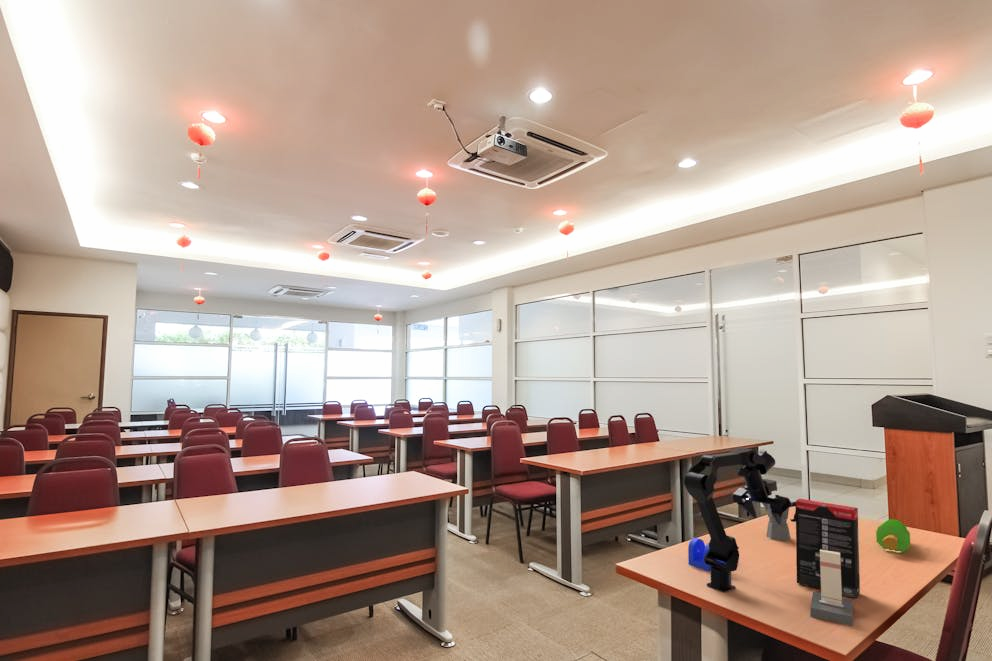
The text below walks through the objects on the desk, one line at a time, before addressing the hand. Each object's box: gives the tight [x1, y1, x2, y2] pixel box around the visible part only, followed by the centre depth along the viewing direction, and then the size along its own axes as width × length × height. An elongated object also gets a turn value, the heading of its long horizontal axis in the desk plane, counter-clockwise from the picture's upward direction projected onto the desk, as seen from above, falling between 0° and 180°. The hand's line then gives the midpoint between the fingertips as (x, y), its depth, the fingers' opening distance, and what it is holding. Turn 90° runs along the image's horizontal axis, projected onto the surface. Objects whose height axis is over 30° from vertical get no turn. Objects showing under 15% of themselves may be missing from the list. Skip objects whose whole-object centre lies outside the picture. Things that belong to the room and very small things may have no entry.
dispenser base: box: [809, 590, 854, 627], centre depth 154 cm, size 10×14×3 cm
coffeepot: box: [761, 494, 796, 542], centre depth 226 cm, size 15×9×18 cm, turn 70°
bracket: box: [687, 537, 726, 572], centre depth 193 cm, size 18×8×9 cm, turn 124°
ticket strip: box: [820, 549, 843, 605], centre depth 155 cm, size 5×2×16 cm, turn 56°
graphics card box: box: [794, 498, 861, 599], centre depth 172 cm, size 17×7×27 cm, turn 48°
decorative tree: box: [875, 518, 911, 553], centre depth 216 cm, size 11×12×30 cm
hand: (767, 520), depth 185 cm, fingers open, 9 cm apart
